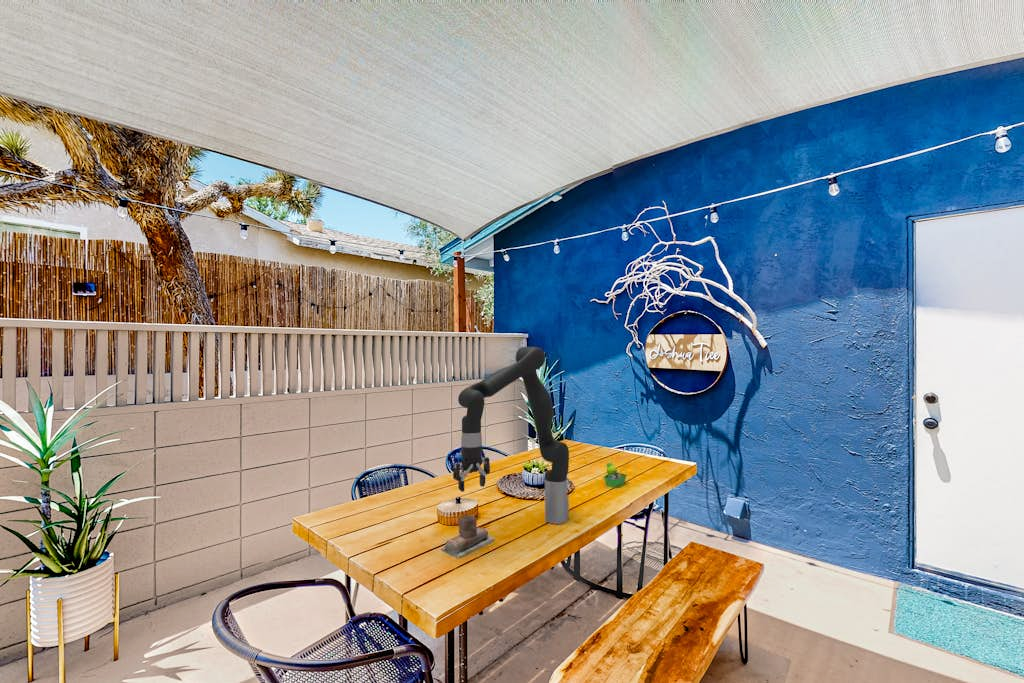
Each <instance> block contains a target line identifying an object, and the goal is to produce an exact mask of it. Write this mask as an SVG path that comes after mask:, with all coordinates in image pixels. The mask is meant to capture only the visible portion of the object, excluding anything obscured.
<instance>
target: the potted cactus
mask: <svg viewBox="0 0 1024 683" xmlns="http://www.w3.org/2000/svg"><path fill="white" fill-rule="evenodd" d="M606 473H607V474H606V475H603V479H604V482H605V486H606V487H609V488H612V487H613V489H616V488H619V487H621V486H623V485H625V483H626V479H627V477H628V476H627V474H625V473H621V472H618V467H616V466H615V465H614V464H613V463H612V462H607V464H606Z"/></svg>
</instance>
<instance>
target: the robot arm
mask: <svg viewBox="0 0 1024 683" xmlns="http://www.w3.org/2000/svg"><path fill="white" fill-rule="evenodd" d="M545 362H546V354H545V351H543V349H542V348H540V347H537V346H521V347H520V348H518V349H517V351H516V354H515V363H512V364H510V365H508V366H505V367H503V368H501V369H497V371H494V372H493V373H491V374H489V375H488V376H486V377H485V378H484V379H482V380H481V381H479V382H476V383H474V384H472V385H470V386H467V387H466V388H464V389H462V391H461V392H460V393H459V394H458V398H457V401H458V404H459V405H460V406H461V407H462V408H465V409H467V410H466V415H464V416H462V418H461V438H460V441H461V442H460V445H461V450H460V451H461V452H460V453H461V455H460V456H461V462H453V471H452V472H453V474H452V478H453V480H456V481H457V484H458V490H459V492H461V493H463V492H465V481H464V480H465V479H466V477H467V476H468V475H469V474H472V473H478V474H479V486H480V487H485V485H486V476H487V475H489V474H490V473H491V467H490V465H491V464H490V458H489V457H487V456H483V436H482V417H483V413H484V409H485V398H490V397H493V396H495V394H497V393H499V392H500V391H502V390H503V389H505V388H506V387H508V386H509V385H510V384H512V383H514V382H515V381H517V380H519V379H521V378H522V381H523V384H524V387H525V388H524V389H525V391H526V395H527V398H528V399H527V400H528V403H529V406H530V410H531V415H532V416H533V421H534V426H535V429H536V433H537V439H538V445H539V446H538V447H539V451H540V452H539V453H540V455H541V457H542V458H543V460H544V461H546V462H549V463H551V469H549V470H546V471H545V472H544V520H546V521H547V522H546V521H545V522H546V523H548V522H549V523H548V524H551V523H553V524H552V525H560V524H561V523H563V524H565V523H567V521H568V520H570V516H569V515H570V508H569V506H570V504H569V497H568V494H567V493H568V491H567V490H568V486H567V484H568V482H567V481H568V479H567V478H568V476H567V475H568V474H569V467H570V466H569V465H570V464H569V463H570V450H569V446H568V445H567V444H566V443H565V442H563V441H559V440H555V438H554V435H553V431H552V422H553V419H554V415H555V408H554V406H553V401H552V397H551V394H550V393H549V391H548V390H547V388H546V387H545V385H544V384H543V382H542V381H541V380H540V377H539V376H538V373H537V370H539V369H541V368H542V367H543V365H544V364H545ZM482 456H483V457H482ZM482 464H483V467H482ZM567 519H568V520H567ZM564 522H565V523H564ZM561 525H562V524H561Z"/></svg>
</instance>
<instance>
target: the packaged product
mask: <svg viewBox="0 0 1024 683" xmlns="http://www.w3.org/2000/svg"><path fill="white" fill-rule="evenodd" d="M494 541H495V537H491V536H489V531H488V530H487V529H486V528H484V527H477V535H476V536H472V537H468V538H463V537H462V536H461V535H460V534H458V535H456V536H453V537H452V538H448V539H446V541H445V545H444V546H443V547H442V548H440V550H441V551H442V552H444V553H446V554H449V555H450V556H452V557H454V558H457V559H461V558H464V557H466V556H468V555H469V554H471V553H474V552H475V551H477V550H479V549H482V548H483V547H485V546H488V545H490V544H491V543H493V542H494Z"/></svg>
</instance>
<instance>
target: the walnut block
mask: <svg viewBox="0 0 1024 683" xmlns="http://www.w3.org/2000/svg"><path fill="white" fill-rule="evenodd" d="M477 520H478V519H477V518H476V517H475V516H474V515H472V514H467V515H463V516H462V515H461V516H458V535H461V536H462V537H463V538H468V537H472V536H476V535H477V528H478V527H477V524H478V522H477Z"/></svg>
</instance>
